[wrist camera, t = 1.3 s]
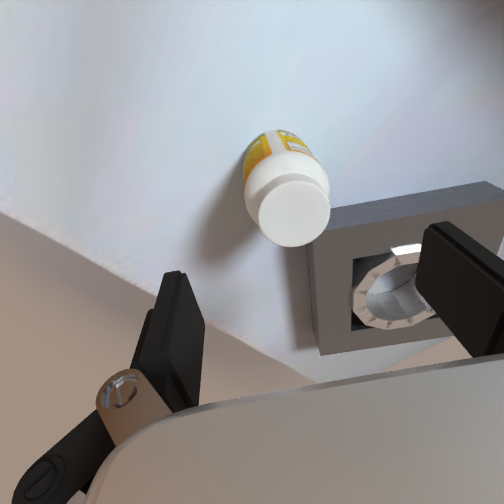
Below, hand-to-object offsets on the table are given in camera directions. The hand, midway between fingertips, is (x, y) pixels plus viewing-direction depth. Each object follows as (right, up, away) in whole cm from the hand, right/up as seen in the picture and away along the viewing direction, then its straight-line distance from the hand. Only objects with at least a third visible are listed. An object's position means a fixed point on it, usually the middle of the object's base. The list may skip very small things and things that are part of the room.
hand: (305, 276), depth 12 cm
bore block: (+12, -1, +19) cm, 22 cm away
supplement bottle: (0, +8, +12) cm, 15 cm away
